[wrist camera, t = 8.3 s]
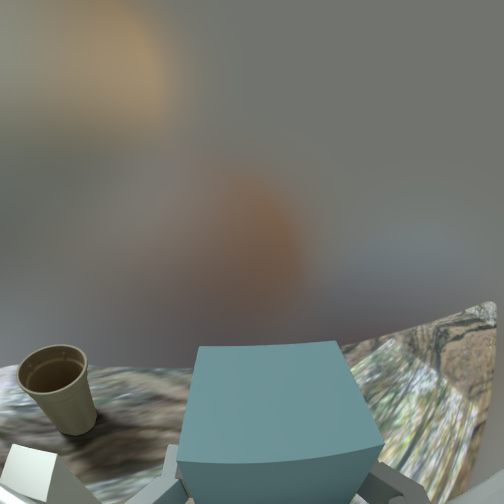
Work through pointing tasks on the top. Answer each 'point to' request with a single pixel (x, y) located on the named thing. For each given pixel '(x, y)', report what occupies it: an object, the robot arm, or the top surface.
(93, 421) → the flower pot
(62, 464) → the white block
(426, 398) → the top surface
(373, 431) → the teal block
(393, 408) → the top surface
